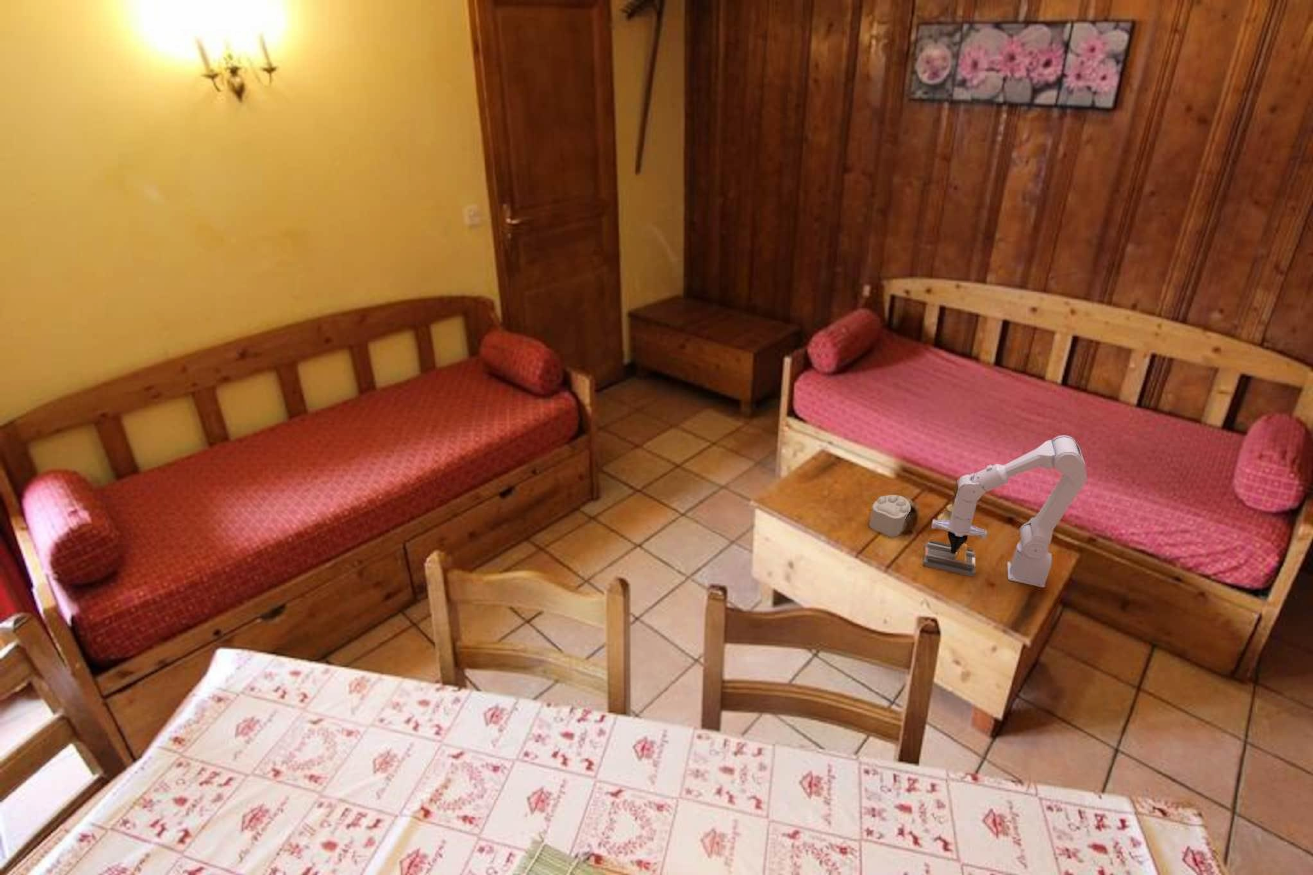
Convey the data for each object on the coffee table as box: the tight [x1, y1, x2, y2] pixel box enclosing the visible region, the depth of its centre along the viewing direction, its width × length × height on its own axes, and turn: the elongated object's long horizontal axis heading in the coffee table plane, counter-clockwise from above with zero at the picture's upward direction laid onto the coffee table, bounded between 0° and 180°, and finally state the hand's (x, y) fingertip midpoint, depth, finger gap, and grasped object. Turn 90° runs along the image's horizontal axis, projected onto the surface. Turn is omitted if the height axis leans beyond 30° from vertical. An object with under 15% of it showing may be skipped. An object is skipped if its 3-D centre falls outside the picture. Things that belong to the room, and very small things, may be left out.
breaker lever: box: [955, 543, 968, 562], centre depth 210 cm, size 3×4×4 cm
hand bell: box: [937, 477, 961, 520], centre depth 226 cm, size 8×8×16 cm
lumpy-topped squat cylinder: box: [868, 494, 912, 538], centre depth 227 cm, size 10×13×9 cm
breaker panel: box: [922, 539, 976, 578], centre depth 212 cm, size 14×10×3 cm
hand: (953, 551), depth 211 cm, fingers closed
